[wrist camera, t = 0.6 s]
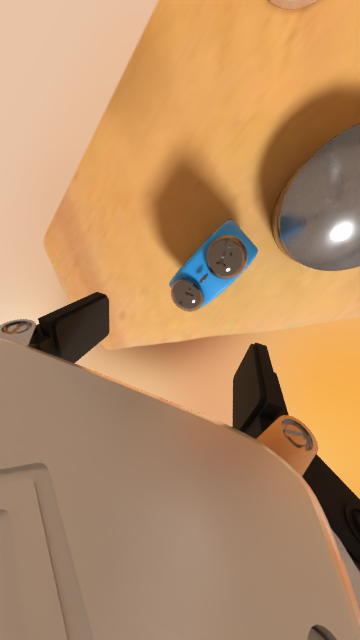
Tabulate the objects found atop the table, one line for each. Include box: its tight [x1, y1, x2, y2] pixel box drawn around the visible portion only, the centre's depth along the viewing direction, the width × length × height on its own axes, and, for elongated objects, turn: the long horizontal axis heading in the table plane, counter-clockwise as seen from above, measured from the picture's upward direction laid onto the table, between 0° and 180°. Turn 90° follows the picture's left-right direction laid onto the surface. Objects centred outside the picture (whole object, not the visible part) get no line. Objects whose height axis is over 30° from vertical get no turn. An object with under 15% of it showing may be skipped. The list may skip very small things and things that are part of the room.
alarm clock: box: [169, 220, 258, 312], centre depth 26 cm, size 13×6×15 cm, turn 138°
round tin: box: [272, 123, 360, 271], centre depth 23 cm, size 15×15×6 cm
